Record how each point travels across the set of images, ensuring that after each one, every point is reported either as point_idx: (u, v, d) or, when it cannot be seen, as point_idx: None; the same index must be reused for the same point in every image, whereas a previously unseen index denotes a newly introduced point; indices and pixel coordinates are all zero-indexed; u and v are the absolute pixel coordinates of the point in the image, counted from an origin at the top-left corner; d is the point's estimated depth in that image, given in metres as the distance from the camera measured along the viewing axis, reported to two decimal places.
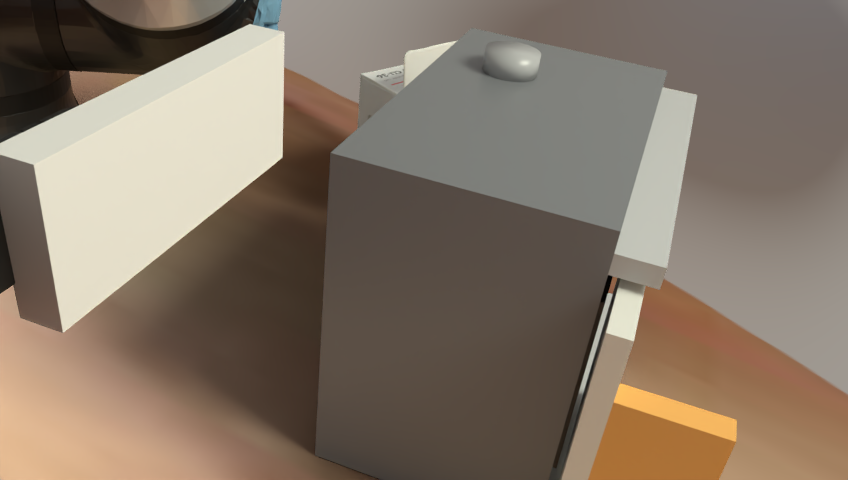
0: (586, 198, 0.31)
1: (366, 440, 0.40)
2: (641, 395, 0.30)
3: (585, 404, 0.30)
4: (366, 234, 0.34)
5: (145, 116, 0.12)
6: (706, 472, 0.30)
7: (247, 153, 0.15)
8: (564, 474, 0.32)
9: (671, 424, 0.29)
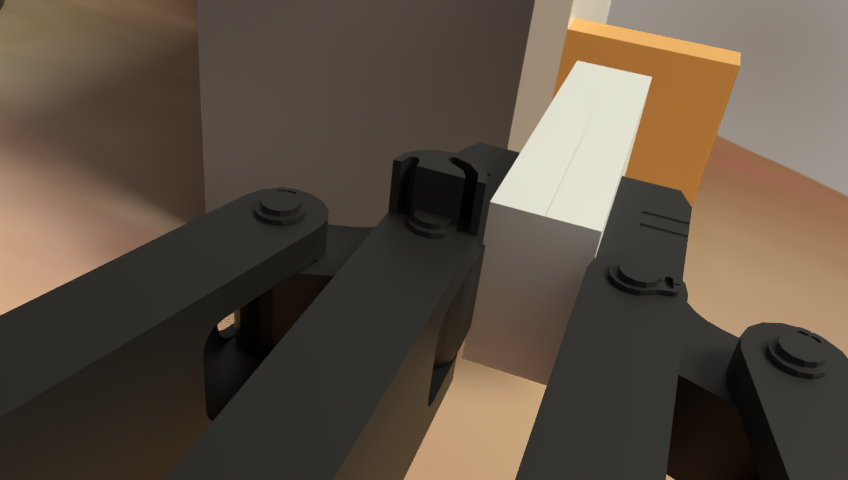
0: None
1: None
2: (606, 28, 0.21)
3: (529, 41, 0.21)
4: None
5: None
6: (697, 128, 0.21)
7: None
8: None
9: (648, 53, 0.21)
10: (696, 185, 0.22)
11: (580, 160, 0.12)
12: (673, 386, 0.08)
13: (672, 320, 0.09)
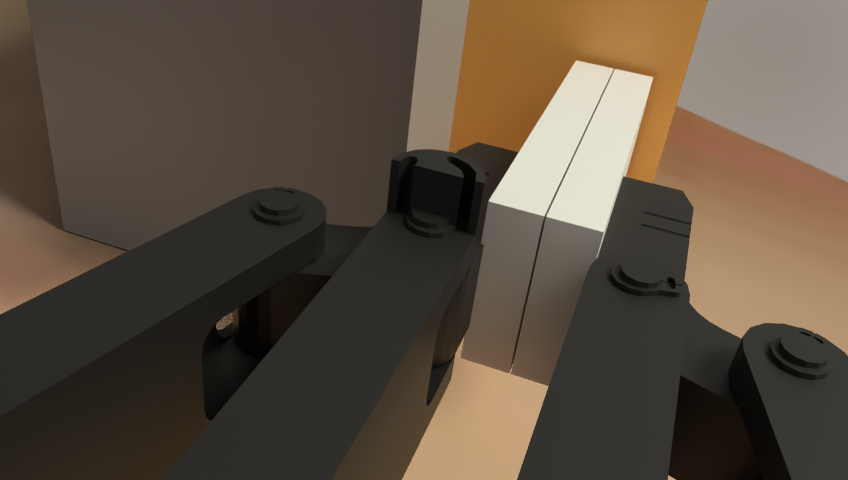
0: None
1: (128, 187, 0.25)
2: None
3: None
4: None
5: (572, 160, 0.12)
6: (663, 51, 0.15)
7: None
8: (412, 118, 0.18)
9: None
10: (664, 134, 0.16)
11: (582, 160, 0.12)
12: (675, 387, 0.08)
13: (674, 321, 0.09)
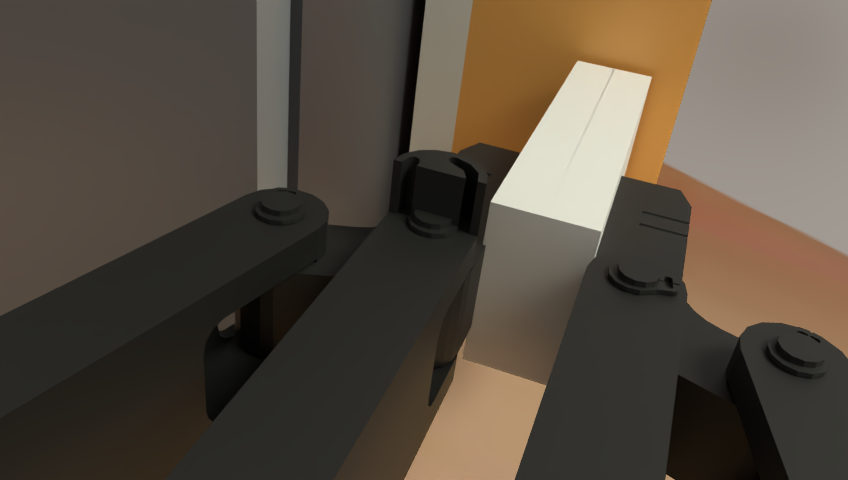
0: None
1: None
2: None
3: None
4: None
5: None
6: (667, 52, 0.15)
7: None
8: (415, 119, 0.18)
9: None
10: (667, 135, 0.16)
11: (580, 160, 0.12)
12: (673, 386, 0.08)
13: (672, 320, 0.09)
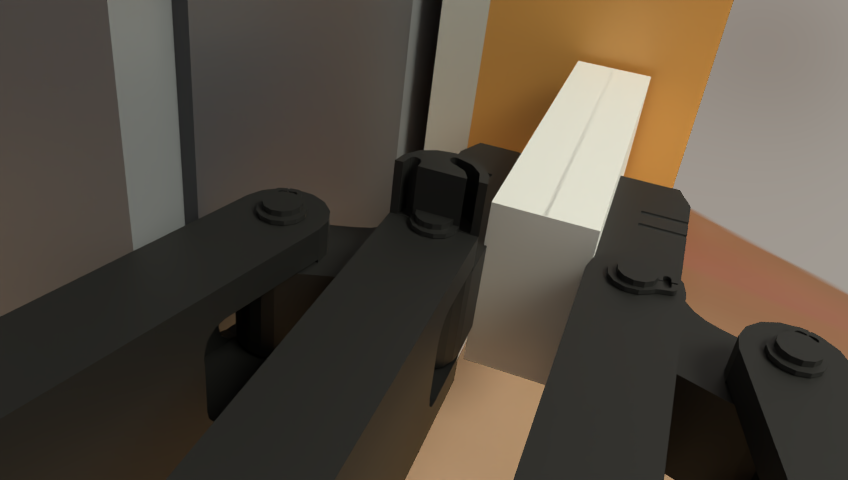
0: None
1: None
2: None
3: None
4: None
5: None
6: (685, 60, 0.15)
7: None
8: (429, 124, 0.18)
9: None
10: (683, 141, 0.16)
11: (579, 159, 0.12)
12: (672, 386, 0.08)
13: (671, 320, 0.09)
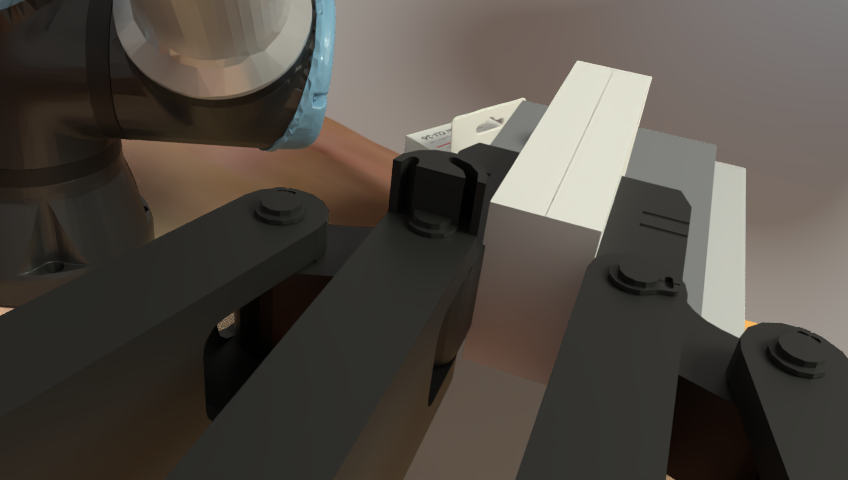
0: None
1: None
2: None
3: None
4: None
5: None
6: None
7: None
8: None
9: None
10: None
11: (580, 160, 0.12)
12: (673, 386, 0.08)
13: (672, 320, 0.09)
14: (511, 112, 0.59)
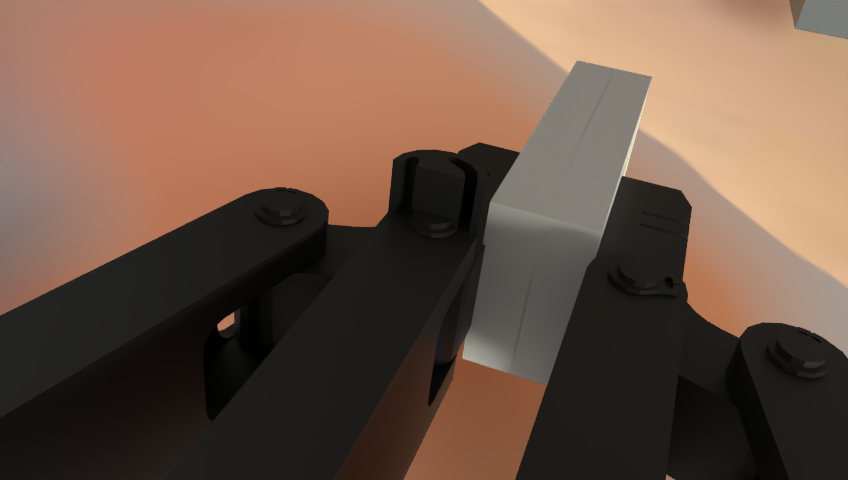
0: None
1: None
2: None
3: None
4: None
5: None
6: None
7: None
8: None
9: None
10: None
11: (580, 160, 0.12)
12: (673, 386, 0.08)
13: (672, 320, 0.09)
14: None
